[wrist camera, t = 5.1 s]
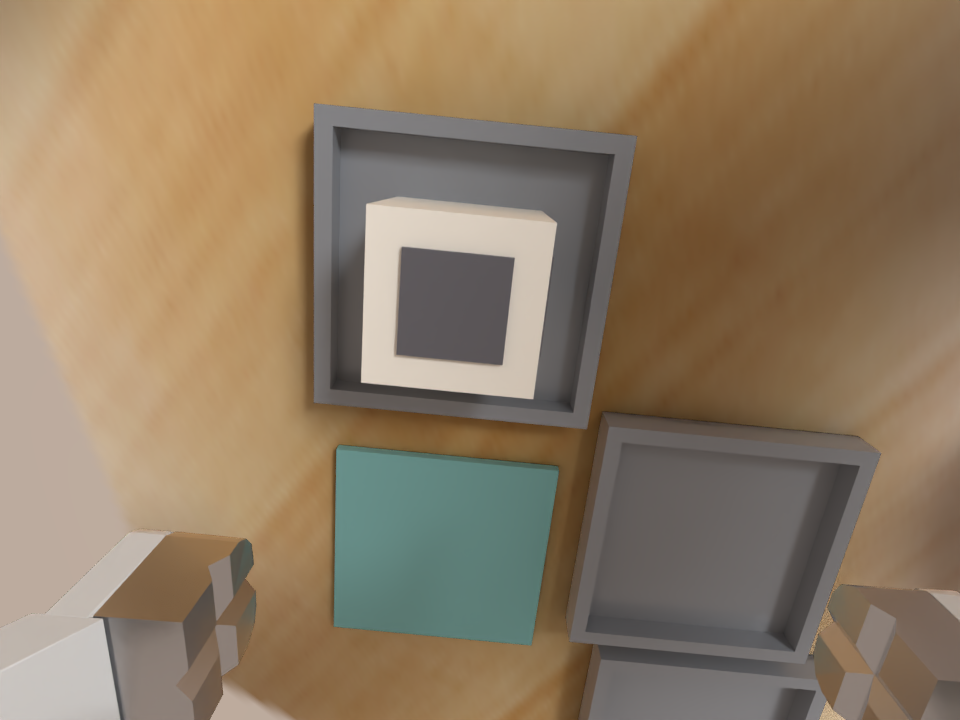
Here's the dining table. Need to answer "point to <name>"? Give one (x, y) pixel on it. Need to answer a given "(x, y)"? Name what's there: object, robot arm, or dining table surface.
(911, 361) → the dining table surface
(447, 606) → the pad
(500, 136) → the dish
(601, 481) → the dish
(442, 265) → the white cube
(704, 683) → the dish
